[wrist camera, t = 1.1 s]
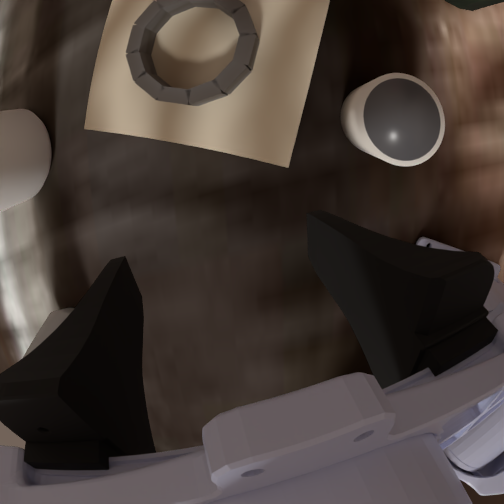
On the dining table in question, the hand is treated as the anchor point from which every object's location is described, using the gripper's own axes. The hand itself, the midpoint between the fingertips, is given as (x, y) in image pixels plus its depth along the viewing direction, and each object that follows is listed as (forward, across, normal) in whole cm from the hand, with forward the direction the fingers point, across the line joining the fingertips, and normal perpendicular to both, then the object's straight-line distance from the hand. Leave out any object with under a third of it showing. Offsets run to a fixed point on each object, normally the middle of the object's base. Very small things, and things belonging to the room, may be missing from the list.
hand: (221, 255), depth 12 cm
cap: (+8, -12, -2) cm, 15 cm away
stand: (+14, -2, -8) cm, 16 cm away
